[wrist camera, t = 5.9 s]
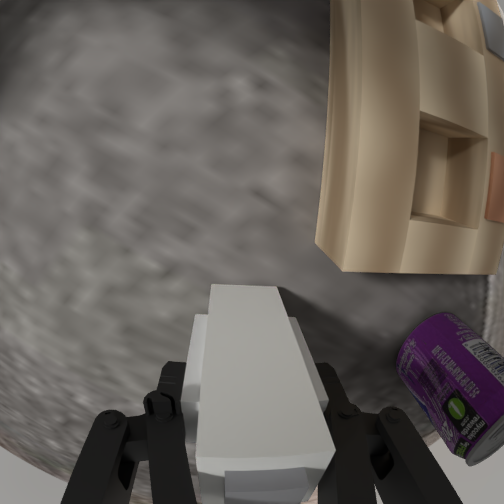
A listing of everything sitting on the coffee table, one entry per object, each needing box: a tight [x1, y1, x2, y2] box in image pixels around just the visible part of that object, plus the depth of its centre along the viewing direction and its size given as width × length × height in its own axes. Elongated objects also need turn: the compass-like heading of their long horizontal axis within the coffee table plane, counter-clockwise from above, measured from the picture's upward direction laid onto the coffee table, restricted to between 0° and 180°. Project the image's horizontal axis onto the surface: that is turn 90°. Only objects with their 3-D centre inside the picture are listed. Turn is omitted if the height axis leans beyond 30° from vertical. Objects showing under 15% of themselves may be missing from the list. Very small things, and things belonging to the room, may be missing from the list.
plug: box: [196, 284, 336, 504], centre depth 13 cm, size 4×4×13 cm
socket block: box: [315, 0, 504, 275], centre depth 13 cm, size 12×22×5 cm, turn 176°
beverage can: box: [396, 313, 504, 466], centre depth 16 cm, size 7×7×12 cm
